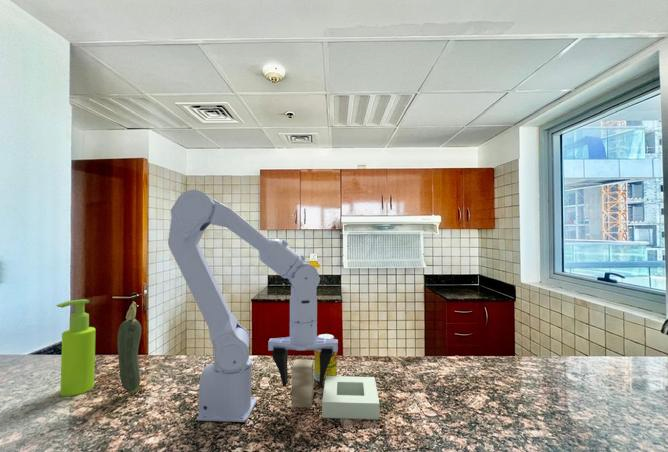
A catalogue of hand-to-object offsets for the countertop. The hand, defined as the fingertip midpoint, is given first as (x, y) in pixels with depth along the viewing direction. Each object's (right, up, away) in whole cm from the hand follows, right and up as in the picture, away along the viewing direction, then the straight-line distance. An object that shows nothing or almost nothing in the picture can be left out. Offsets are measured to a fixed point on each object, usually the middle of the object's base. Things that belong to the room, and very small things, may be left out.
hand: (303, 384), depth 66 cm
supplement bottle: (+4, -4, +10) cm, 12 cm away
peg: (0, -4, 0) cm, 4 cm away
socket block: (+10, -4, -1) cm, 11 cm away
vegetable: (-38, -4, +3) cm, 39 cm away
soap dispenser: (-51, -4, +4) cm, 52 cm away
